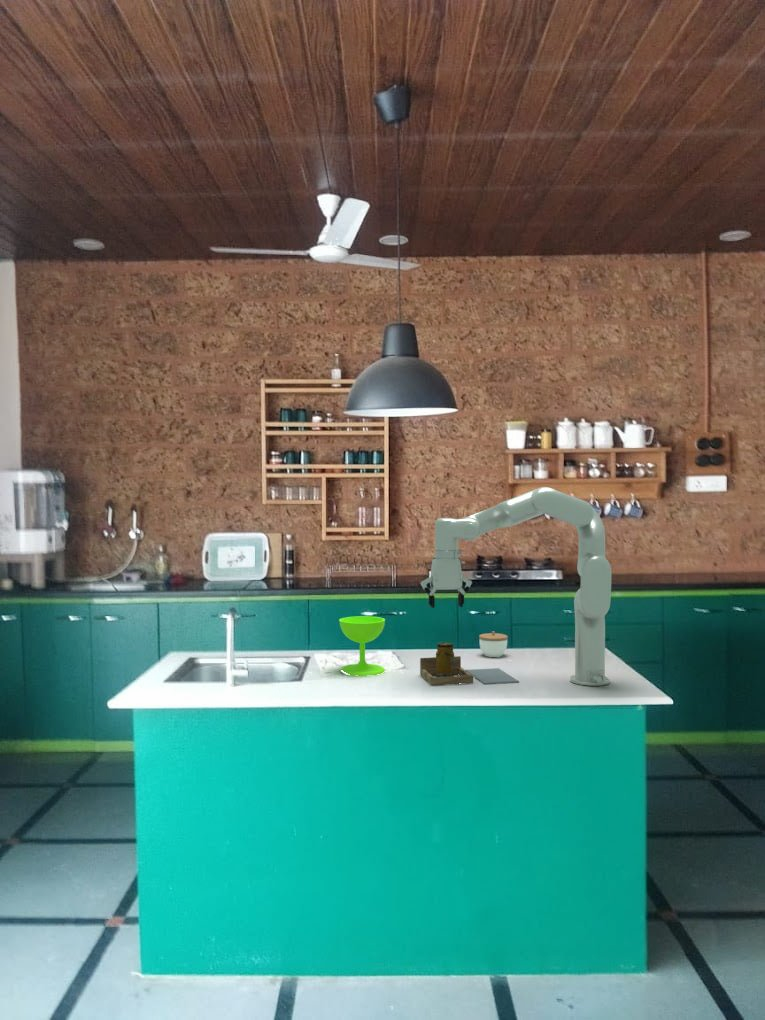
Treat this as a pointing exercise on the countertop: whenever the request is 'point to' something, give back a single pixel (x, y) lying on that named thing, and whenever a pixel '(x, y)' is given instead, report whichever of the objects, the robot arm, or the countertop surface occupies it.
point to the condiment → (444, 660)
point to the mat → (492, 676)
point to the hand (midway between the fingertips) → (446, 606)
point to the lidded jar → (493, 644)
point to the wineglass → (362, 641)
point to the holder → (430, 670)
